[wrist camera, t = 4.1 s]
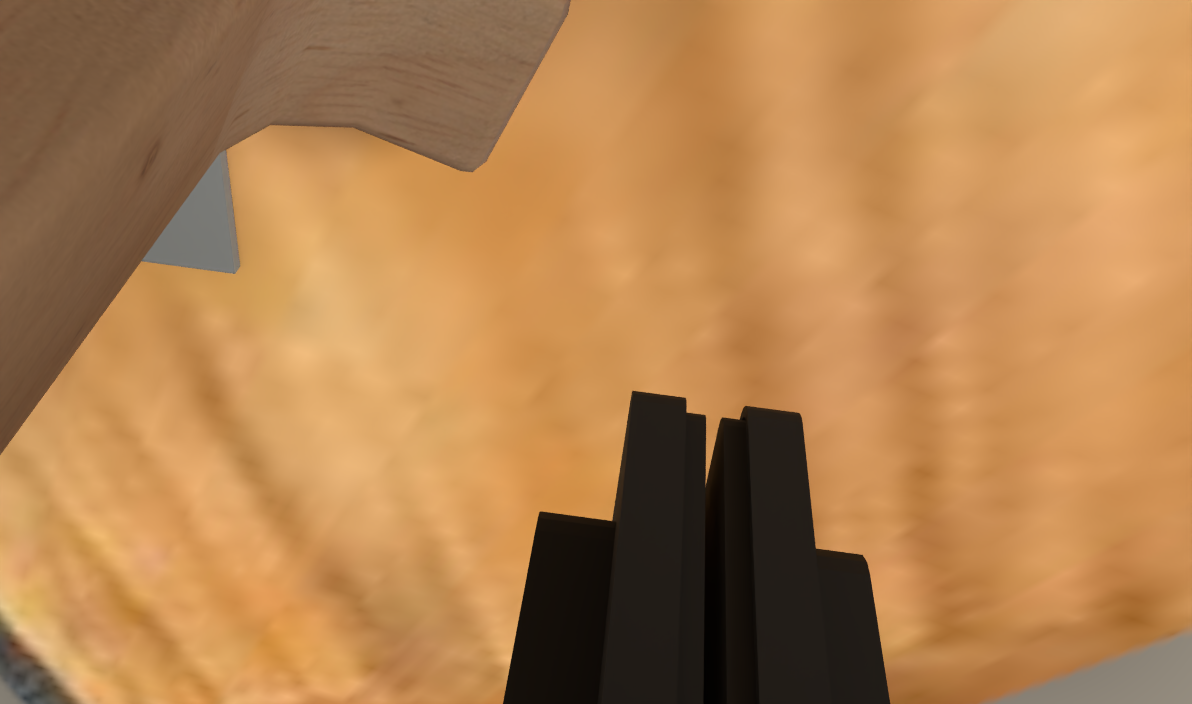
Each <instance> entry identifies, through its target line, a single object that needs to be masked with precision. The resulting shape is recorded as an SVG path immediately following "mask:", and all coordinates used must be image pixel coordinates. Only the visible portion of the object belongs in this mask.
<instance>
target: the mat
mask: <svg viewBox="0 0 1192 704" xmlns="http://www.w3.org/2000/svg"><path fill="white" fill-rule="evenodd" d="M142 261H144V262H152V263H159V264H166V265H174V266H181V267H188V268H196V269H203V270H211V271H218V272H225V273H233V274H235V273H236V272H237V270H238V269H239V267H240V261H239V253H238V245H237V236H236V228H235V220H234V212H233V204H232V195H231V187H230V179H229V171H228V162H227V154H226V150H224V151H223V152H221V153H220V154H219V155H218V156H217V158H216V159H215V160H214V162H213V163H212V165H211V166H210V167H209V169H208V170H207V171H206V173H205V174H204V176H203V177H202V178H201V180H200V181H199V182H198V184H197V185H196V187H195V188H194V189H193V191H192V192H191V193H190V195H189V196H188V198H187V199H186V200H185V202H184V203H183V204H182V206H181V207H180V209H179V210H178V211H177V213H176V214H175V215H174V217H173V218H172V220H171V221H170V222H169V224H168V225H167V226H166V228H165V229H164V231H163V232H162V233H161V235H160V236H159V237H158V239H157V240H156V242H155V243H154V244H153V246H152V247H151V248H150V250H149V251H148V253H147V254H146V255H145V257H144V258H143V259H142Z"/></svg>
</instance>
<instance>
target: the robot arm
mask: <svg viewBox="0 0 1192 704" xmlns="http://www.w3.org/2000/svg"><path fill="white" fill-rule="evenodd" d="M705 480H706V416H705V415H700V414H693V413H686V398H682V397H675V396H667V395H660V394H652V393H645V392H637V391H632V395H631V401H630V408H629V414H628V421H627V428H626V434H625V441H624V447H623V454H622V461H621V467H620V474H619V480H618V487H617V494H616V500H615V507H614V514H613V520H612V521H607V520H600V519H592V518H585V517H578V516H570V515H563V514H555V513H548V512H541V511H540V513H539V516H538V521H537V526H536V530H535V536H534V541H533V546H532V552H531V557H530V562H529V568H528V573H527V579H526V584H525V589H524V595H523V600H522V605H521V611H520V616H519V621H518V627H517V632H516V637H515V643H514V648H513V653H512V659H511V664H510V669H509V675H508V680H507V685H506V691H505V696H504V701H503V704H890V700H889V693H888V687H887V680H886V674H885V668H884V661H883V655H882V648H881V642H880V636H879V629H878V623H877V616H876V610H875V604H874V597H873V591H872V584H871V578H870V573H869V569H868V565H867V562H866V560H865V558H864V557H863V555H859V554H852V553H844V552H837V551H830V550H822V549H816V547H815V537H814V528H813V518H812V509H811V499H810V490H809V480H808V470H807V461H806V451H805V442H804V432H803V423H802V418H801V415H800V414H799V413H795V412H787V411H780V410H772V409H765V408H757V407H750V406H745V407H744V408H743V411H742V413H741V417H740V420H738V419H730V418H721V421H720V424H719V428H718V432H717V437H716V442H715V446H714V451H713V455H712V460H711V465H710V469H709V474H708V479H707V483H706V488H705Z"/></svg>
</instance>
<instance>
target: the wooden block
mask: <svg viewBox="0 0 1192 704" xmlns="http://www.w3.org/2000/svg"><path fill="white" fill-rule="evenodd" d="M569 6H570V0H0V455H1V453H2V452H3V451H4V449H5V448H6V446H7V445H8V444H9V442H10V441H11V440H12V438H13V437H14V435H15V434H16V433H17V431H18V430H19V429H20V427H21V426H22V424H23V423H24V422H25V420H26V419H27V418H28V416H29V415H30V413H31V412H32V411H33V409H34V408H35V407H36V405H37V404H38V402H39V401H40V400H41V398H42V397H43V396H44V394H45V393H46V391H47V390H48V389H49V387H50V386H51V385H52V383H53V382H54V380H55V379H56V378H57V376H58V375H59V374H60V372H61V371H62V369H63V368H64V367H65V365H66V364H67V363H68V361H69V360H70V358H71V357H72V356H73V354H74V353H75V352H76V350H77V349H78V347H79V346H80V345H81V343H82V342H83V341H84V339H85V338H86V336H87V335H88V334H89V332H90V331H91V330H92V328H93V327H94V325H95V324H96V323H97V321H98V320H99V319H100V317H101V316H102V314H103V313H104V312H105V310H106V309H107V308H108V306H109V305H110V303H111V302H112V301H113V299H114V298H115V297H116V295H117V294H118V292H119V291H120V290H121V288H122V287H123V286H124V284H125V283H126V281H127V280H128V279H129V277H130V276H131V275H132V273H133V272H134V270H135V269H136V268H137V266H138V265H139V264H140V262H141V261H142V259H143V258H144V257H145V255H146V254H147V253H148V251H149V250H150V248H151V247H152V246H153V244H154V243H155V242H156V240H157V239H158V237H159V236H160V235H161V233H162V232H163V231H164V229H165V228H166V226H167V225H168V224H169V222H170V221H171V220H172V218H173V217H174V215H175V214H176V213H177V211H178V210H179V209H180V207H181V206H182V204H183V203H184V202H185V200H186V199H187V198H188V196H189V195H190V193H191V192H192V191H193V189H194V188H195V187H196V185H197V184H198V182H199V181H200V180H201V178H202V177H203V176H204V174H205V173H206V171H207V170H208V169H209V167H210V166H211V165H212V163H213V162H214V160H215V159H216V158H217V156H218V155H219V154H220V153H221V152H223V151H224V150H226V149H228V148H230V147H232V146H233V145H235V144H237V143H239V142H241V141H242V140H244V139H246V138H248V137H249V136H251V135H253V134H255V133H257V132H258V131H260V130H262V129H264V128H266V127H267V126H269V125H288V126H320V127H353V128H356V129H358V130H361V131H363V132H366V133H368V134H371V135H373V136H376V137H378V138H381V139H383V140H385V141H388V142H390V143H393V144H395V145H398V146H400V147H403V148H405V149H408V150H410V151H413V152H415V153H418V154H420V155H423V156H425V157H428V158H430V159H433V160H435V161H437V162H440V163H442V164H445V165H447V166H450V167H452V168H455V169H457V170H460V171H466V172H473V171H474V170H476V169H477V168H478V167H479V166H481V165H482V164H483V163H485V162H486V161H487V159H488V157H489V155H490V153H491V152H492V150H493V148H494V146H495V144H496V143H497V141H498V139H499V137H500V135H501V134H502V132H503V130H504V128H505V126H506V125H507V123H508V121H509V119H510V117H511V116H512V114H513V112H514V110H515V108H516V107H517V105H518V103H519V101H520V99H521V98H522V96H523V94H524V92H525V90H526V89H527V87H528V85H529V83H530V81H531V80H532V78H533V76H534V74H535V72H536V71H537V69H538V67H539V65H540V63H541V61H542V60H543V58H544V56H545V54H546V52H547V51H548V49H549V47H550V45H551V43H552V42H553V40H554V38H555V36H556V34H557V33H558V31H559V29H560V27H561V25H562V24H563V22H564V20H565V18H566V16H567V15H568V11H569Z"/></svg>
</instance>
